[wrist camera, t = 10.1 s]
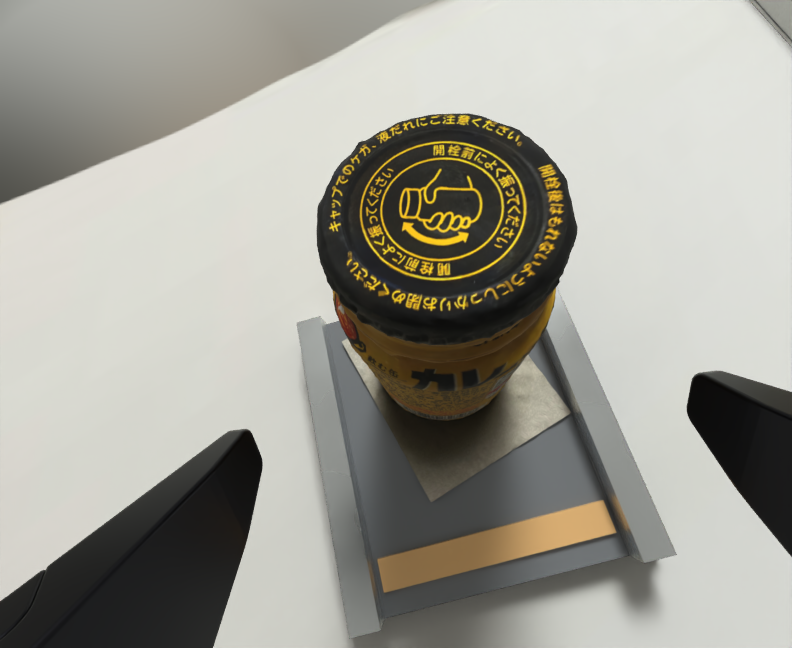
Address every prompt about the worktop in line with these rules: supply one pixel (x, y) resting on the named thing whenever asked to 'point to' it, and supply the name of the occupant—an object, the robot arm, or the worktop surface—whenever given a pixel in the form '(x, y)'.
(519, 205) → the condiment
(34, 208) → the worktop surface
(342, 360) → the mounting plate
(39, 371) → the worktop surface
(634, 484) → the guide rails
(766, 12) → the emergency button
